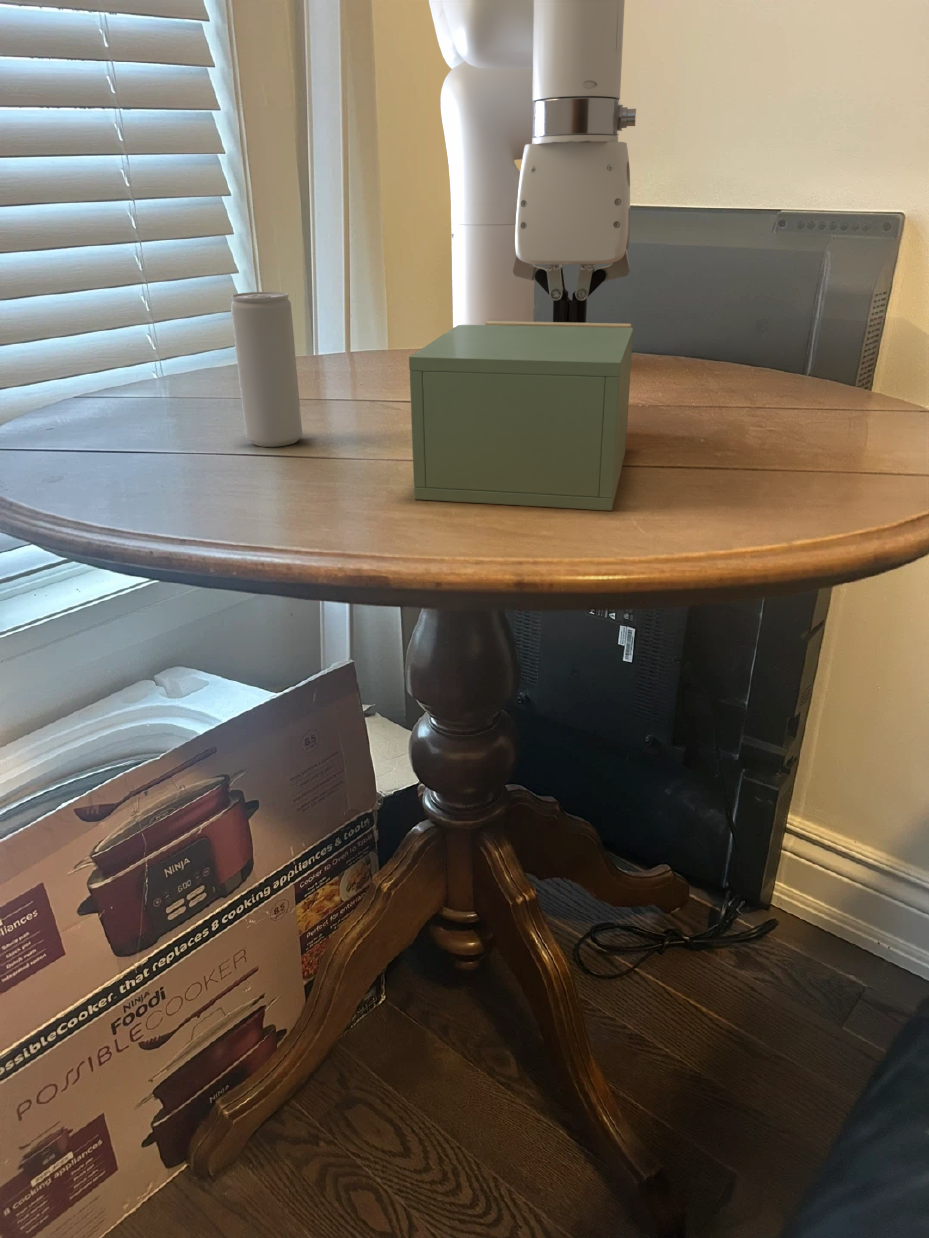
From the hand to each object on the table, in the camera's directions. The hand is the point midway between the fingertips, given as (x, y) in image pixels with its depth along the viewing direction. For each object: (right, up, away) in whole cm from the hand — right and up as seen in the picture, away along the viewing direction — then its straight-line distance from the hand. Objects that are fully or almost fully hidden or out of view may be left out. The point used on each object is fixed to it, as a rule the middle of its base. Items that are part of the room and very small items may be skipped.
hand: (568, 342), depth 88 cm
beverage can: (-26, -11, -8) cm, 30 cm away
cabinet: (-5, -15, -18) cm, 24 cm away
